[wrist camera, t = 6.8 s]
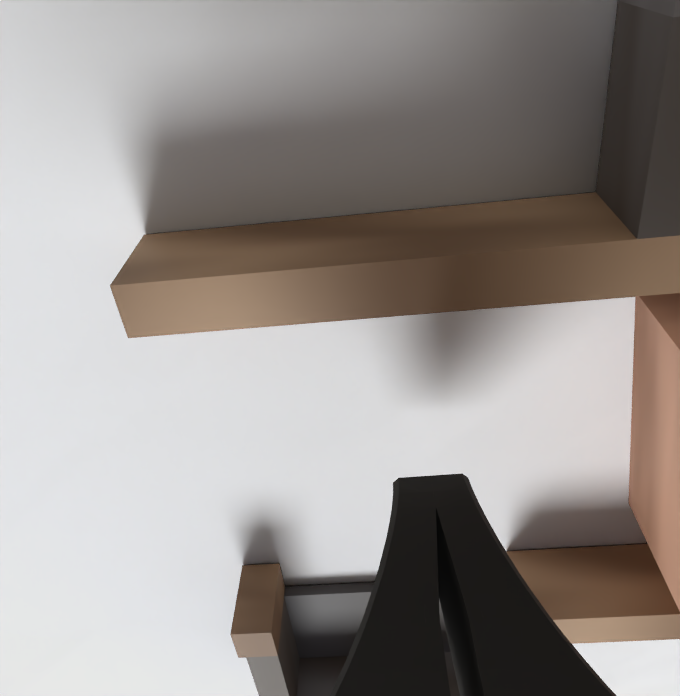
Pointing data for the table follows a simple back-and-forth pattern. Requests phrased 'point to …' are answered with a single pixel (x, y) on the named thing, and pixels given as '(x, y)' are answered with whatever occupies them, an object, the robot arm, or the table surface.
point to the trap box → (446, 296)
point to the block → (657, 431)
